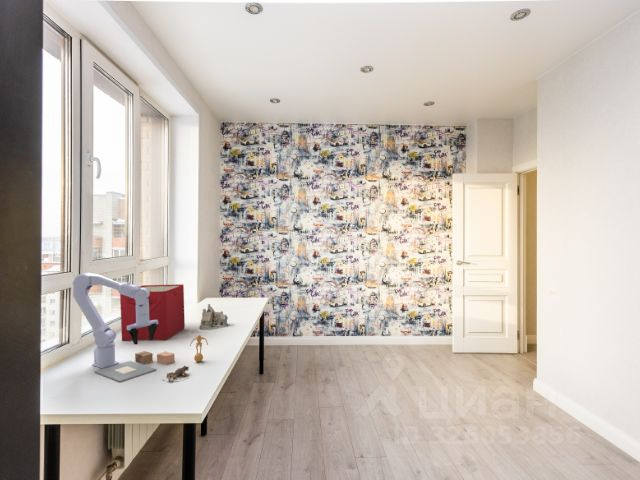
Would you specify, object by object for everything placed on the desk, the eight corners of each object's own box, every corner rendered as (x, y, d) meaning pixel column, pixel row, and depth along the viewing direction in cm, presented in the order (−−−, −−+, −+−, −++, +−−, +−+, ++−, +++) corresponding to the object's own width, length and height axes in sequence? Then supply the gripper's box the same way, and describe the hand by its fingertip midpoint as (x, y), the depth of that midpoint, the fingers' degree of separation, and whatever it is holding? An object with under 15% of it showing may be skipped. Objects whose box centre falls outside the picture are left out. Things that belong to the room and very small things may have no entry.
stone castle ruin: (195, 329, 240) (196, 305, 240) (210, 324, 256) (211, 302, 256) (217, 331, 236) (218, 307, 236) (230, 326, 252) (231, 304, 252)
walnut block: (135, 361, 179) (135, 353, 179) (144, 359, 183) (144, 351, 183) (143, 364, 175) (143, 355, 175) (152, 361, 179) (152, 353, 179)
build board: (94, 372, 166) (94, 370, 166) (130, 361, 179) (130, 360, 179) (119, 382, 153) (119, 380, 153) (156, 370, 166) (156, 368, 166)
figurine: (188, 363, 174) (187, 337, 174) (191, 359, 180) (190, 334, 180) (207, 362, 175) (206, 336, 175) (209, 358, 181) (208, 333, 181)
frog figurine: (181, 370, 166) (181, 362, 166) (197, 376, 158) (197, 367, 158) (156, 378, 157) (156, 369, 157) (171, 385, 149) (171, 376, 149)
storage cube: (166, 341, 214) (164, 290, 213) (118, 342, 214) (117, 291, 214) (187, 327, 246) (186, 283, 246) (145, 328, 246) (144, 284, 246)
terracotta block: (157, 362, 178) (156, 354, 178) (166, 359, 181) (165, 351, 181) (165, 365, 174) (165, 356, 174) (174, 362, 177) (174, 353, 177)
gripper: (132, 317, 171) (133, 347, 171) (161, 311, 183) (162, 339, 183) (123, 315, 175) (124, 345, 175) (153, 310, 187) (154, 337, 187)
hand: (143, 342), depth 179 cm, fingers open, 7 cm apart
